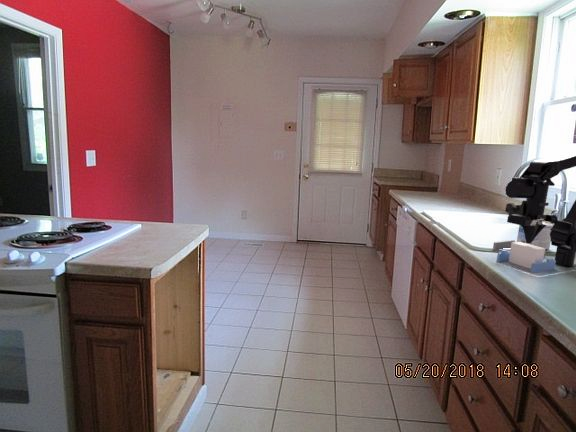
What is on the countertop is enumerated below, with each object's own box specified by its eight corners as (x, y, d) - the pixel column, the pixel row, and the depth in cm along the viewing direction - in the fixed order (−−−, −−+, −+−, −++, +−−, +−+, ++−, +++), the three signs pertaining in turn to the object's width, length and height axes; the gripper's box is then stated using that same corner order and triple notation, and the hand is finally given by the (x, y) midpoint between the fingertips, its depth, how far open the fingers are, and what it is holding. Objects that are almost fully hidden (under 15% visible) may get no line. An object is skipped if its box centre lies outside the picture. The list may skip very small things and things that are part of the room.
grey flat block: (512, 248, 160) (513, 240, 159) (544, 257, 148) (546, 248, 148) (492, 250, 154) (493, 242, 154) (524, 260, 143) (526, 251, 142)
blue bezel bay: (517, 259, 144) (519, 248, 143) (554, 270, 133) (556, 258, 132) (496, 262, 139) (498, 250, 138) (532, 274, 128) (534, 261, 127)
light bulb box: (515, 244, 167) (519, 219, 165) (528, 243, 169) (532, 219, 167) (536, 251, 157) (541, 225, 155) (550, 250, 159) (554, 224, 157)
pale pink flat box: (516, 260, 141) (519, 241, 140) (541, 268, 133) (545, 248, 132) (508, 261, 139) (511, 242, 138) (533, 269, 131) (537, 249, 130)
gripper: (529, 194, 142) (522, 236, 146) (496, 195, 134) (489, 239, 137) (562, 199, 133) (553, 243, 136) (528, 200, 124) (519, 247, 127)
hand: (528, 243), depth 134 cm, fingers closed
